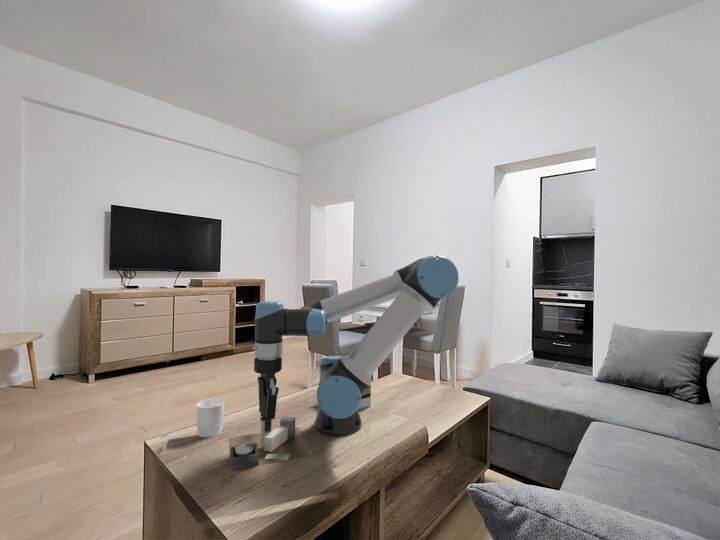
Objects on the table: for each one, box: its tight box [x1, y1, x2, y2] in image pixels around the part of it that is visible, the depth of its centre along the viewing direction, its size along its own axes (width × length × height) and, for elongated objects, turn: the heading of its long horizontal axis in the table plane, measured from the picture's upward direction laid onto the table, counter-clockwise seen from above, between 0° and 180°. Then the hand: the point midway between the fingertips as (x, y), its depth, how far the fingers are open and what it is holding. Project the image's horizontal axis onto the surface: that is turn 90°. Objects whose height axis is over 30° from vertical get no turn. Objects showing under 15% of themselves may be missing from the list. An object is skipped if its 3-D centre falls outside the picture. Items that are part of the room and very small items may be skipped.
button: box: [235, 441, 253, 457], centre depth 87 cm, size 4×4×3 cm
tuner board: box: [229, 426, 313, 472], centre depth 95 cm, size 20×18×4 cm
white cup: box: [195, 398, 226, 438], centre depth 103 cm, size 8×8×10 cm
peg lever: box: [264, 416, 296, 452], centre depth 96 cm, size 12×4×5 cm, turn 159°
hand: (266, 441), depth 94 cm, fingers closed
